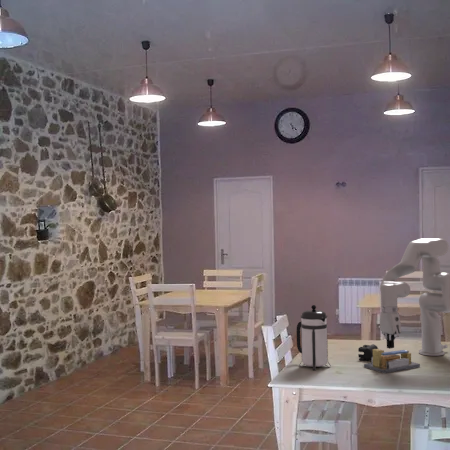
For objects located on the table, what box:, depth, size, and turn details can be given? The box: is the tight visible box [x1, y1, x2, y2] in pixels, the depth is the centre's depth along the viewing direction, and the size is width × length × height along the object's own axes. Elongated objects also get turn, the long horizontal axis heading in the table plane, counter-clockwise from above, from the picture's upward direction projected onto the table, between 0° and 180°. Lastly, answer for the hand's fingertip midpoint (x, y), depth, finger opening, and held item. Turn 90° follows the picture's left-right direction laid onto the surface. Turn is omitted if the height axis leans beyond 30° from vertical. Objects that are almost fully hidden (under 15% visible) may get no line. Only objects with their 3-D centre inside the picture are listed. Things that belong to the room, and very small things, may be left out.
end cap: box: [358, 344, 379, 362], centre depth 315 cm, size 10×7×7 cm
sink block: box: [363, 348, 421, 374], centre depth 297 cm, size 22×14×9 cm, turn 117°
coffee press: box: [296, 304, 331, 371], centre depth 301 cm, size 17×16×30 cm
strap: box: [381, 349, 410, 356], centre depth 297 cm, size 16×3×1 cm, turn 117°
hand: (390, 347), depth 297 cm, fingers closed
